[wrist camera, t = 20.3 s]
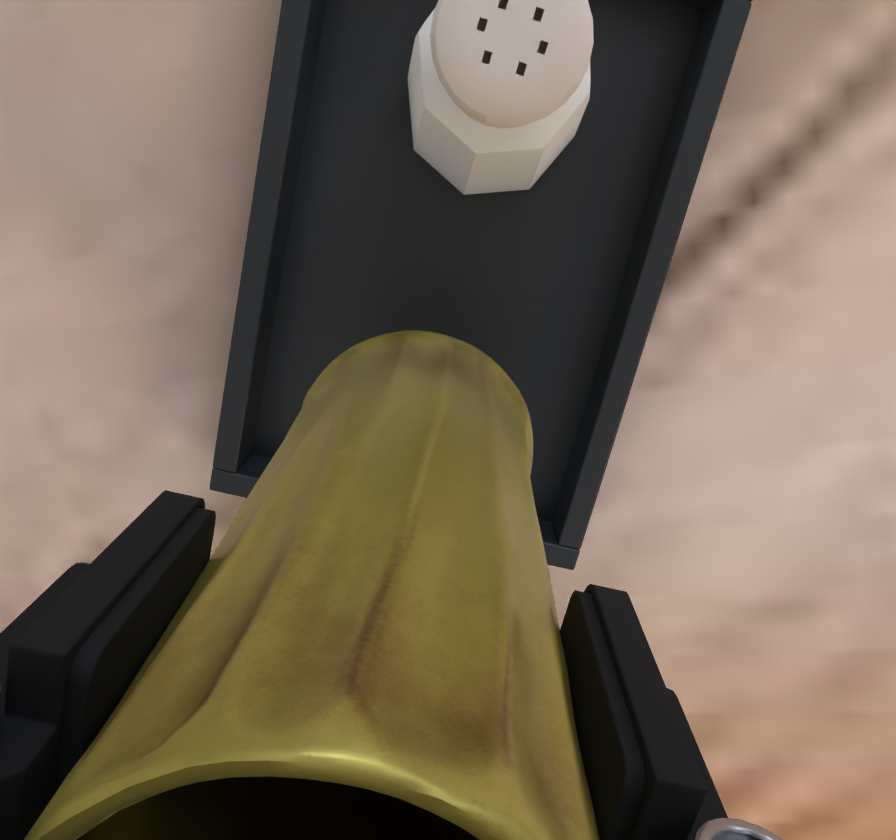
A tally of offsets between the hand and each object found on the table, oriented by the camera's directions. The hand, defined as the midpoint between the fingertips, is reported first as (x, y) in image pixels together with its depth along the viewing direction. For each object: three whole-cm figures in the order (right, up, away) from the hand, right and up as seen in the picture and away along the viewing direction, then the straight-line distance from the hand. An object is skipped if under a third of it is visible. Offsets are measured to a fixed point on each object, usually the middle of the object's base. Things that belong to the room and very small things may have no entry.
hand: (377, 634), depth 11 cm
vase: (0, +3, +9) cm, 9 cm away
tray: (+1, +9, +14) cm, 16 cm away
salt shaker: (+2, +13, +12) cm, 18 cm away
